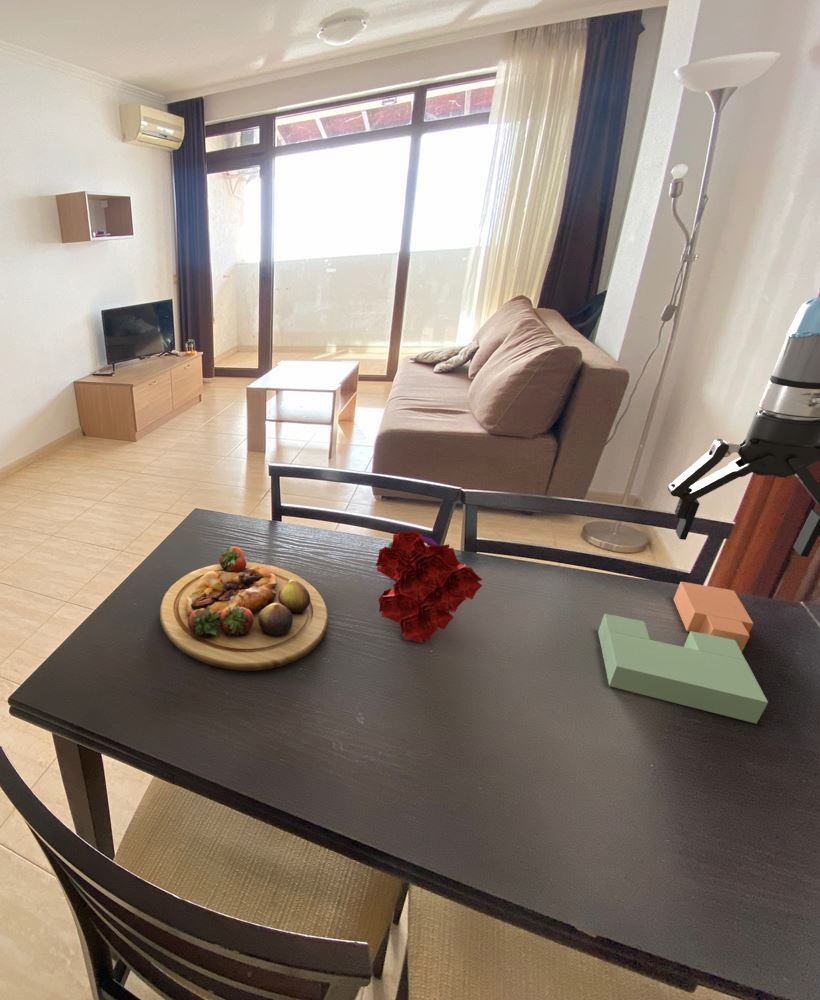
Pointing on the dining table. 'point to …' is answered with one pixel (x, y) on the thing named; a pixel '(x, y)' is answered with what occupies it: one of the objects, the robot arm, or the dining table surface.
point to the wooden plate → (243, 614)
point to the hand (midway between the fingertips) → (737, 543)
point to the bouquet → (423, 584)
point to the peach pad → (713, 612)
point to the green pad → (681, 669)
